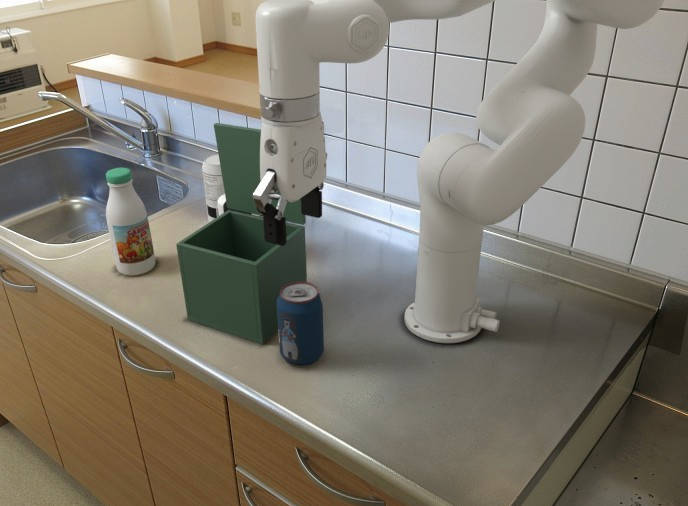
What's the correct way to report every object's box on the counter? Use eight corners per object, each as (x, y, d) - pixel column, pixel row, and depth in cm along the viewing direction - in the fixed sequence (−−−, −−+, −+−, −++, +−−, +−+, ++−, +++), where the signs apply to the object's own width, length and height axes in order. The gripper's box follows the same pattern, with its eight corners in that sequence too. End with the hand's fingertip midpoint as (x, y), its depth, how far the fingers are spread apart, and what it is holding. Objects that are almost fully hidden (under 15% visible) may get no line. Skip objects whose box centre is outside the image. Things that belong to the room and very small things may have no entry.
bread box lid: (295, 137, 102) (298, 134, 102) (213, 124, 109) (216, 122, 109) (303, 225, 111) (306, 222, 111) (227, 208, 118) (229, 206, 118)
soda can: (323, 342, 108) (322, 278, 102) (324, 369, 102) (323, 303, 96) (281, 343, 109) (276, 279, 102) (279, 370, 103) (274, 304, 96)
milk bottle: (109, 273, 131) (88, 177, 120) (129, 255, 137) (110, 162, 127) (144, 278, 129) (125, 180, 118) (162, 259, 135) (147, 165, 124)
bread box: (262, 344, 109) (256, 264, 101) (187, 320, 116) (175, 243, 108) (307, 301, 119) (305, 226, 111) (236, 281, 126) (228, 209, 118)
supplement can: (205, 219, 150) (197, 155, 142) (241, 213, 152) (235, 149, 144) (213, 234, 143) (205, 168, 135) (250, 228, 145) (244, 162, 137)
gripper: (278, 129, 77) (284, 261, 86) (348, 92, 89) (346, 211, 98) (225, 121, 80) (236, 248, 89) (299, 86, 92) (302, 201, 101)
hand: (294, 228), depth 94 cm, fingers open, 9 cm apart
